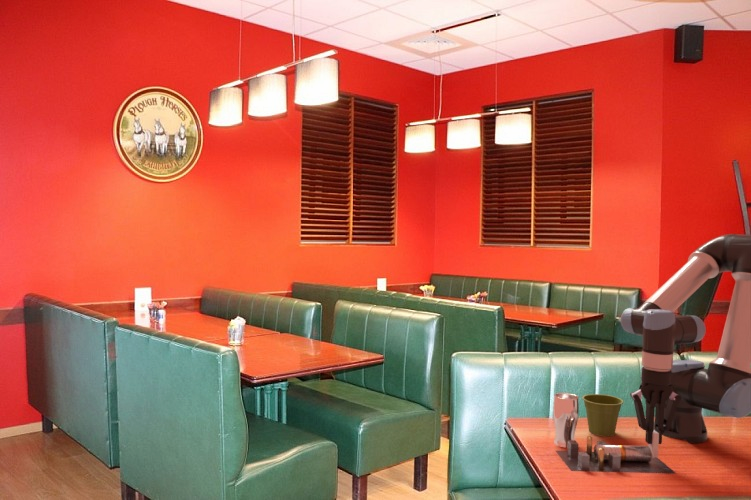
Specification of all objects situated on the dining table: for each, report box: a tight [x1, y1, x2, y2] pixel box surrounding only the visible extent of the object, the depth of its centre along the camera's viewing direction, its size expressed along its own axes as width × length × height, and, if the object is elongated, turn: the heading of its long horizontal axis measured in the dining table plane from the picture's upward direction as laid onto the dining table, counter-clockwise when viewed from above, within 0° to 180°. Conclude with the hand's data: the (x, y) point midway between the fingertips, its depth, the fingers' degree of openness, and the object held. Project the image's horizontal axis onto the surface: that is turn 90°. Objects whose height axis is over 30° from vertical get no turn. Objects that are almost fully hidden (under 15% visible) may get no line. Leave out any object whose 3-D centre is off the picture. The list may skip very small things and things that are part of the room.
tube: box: [593, 444, 652, 462], centre depth 166 cm, size 14×4×4 cm, turn 90°
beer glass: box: [552, 392, 580, 449], centre depth 177 cm, size 7×7×15 cm
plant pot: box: [581, 393, 624, 437], centre depth 189 cm, size 12×12×11 cm
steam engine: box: [555, 435, 677, 475], centre depth 165 cm, size 27×14×6 cm, turn 90°
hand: (652, 455), depth 165 cm, fingers closed
